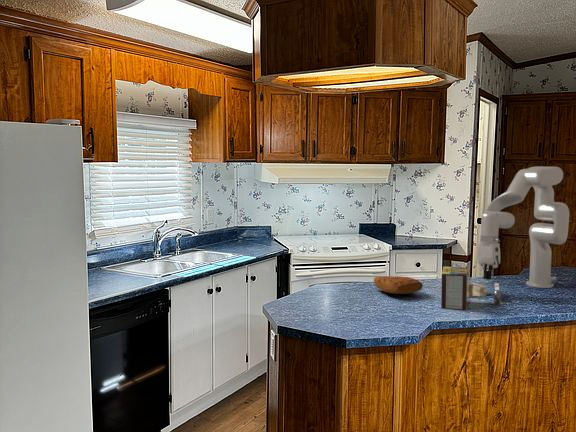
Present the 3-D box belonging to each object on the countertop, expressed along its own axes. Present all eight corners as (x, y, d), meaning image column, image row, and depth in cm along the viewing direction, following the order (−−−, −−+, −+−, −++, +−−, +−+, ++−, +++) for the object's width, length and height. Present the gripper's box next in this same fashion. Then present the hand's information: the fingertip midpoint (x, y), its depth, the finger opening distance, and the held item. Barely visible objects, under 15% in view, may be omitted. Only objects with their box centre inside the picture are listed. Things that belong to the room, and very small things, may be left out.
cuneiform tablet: (425, 297, 240) (425, 280, 239) (392, 301, 234) (392, 283, 234) (400, 286, 261) (400, 271, 260) (370, 289, 255) (370, 273, 254)
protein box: (466, 301, 233) (467, 267, 231) (466, 310, 218) (467, 274, 217) (442, 299, 236) (443, 266, 235) (440, 308, 222) (441, 273, 220)
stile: (468, 295, 243) (468, 282, 242) (472, 296, 240) (473, 284, 239) (463, 295, 242) (464, 283, 241) (468, 297, 239) (468, 284, 238)
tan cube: (479, 293, 247) (479, 284, 247) (486, 295, 243) (487, 287, 243) (472, 294, 245) (472, 285, 245) (479, 296, 241) (479, 288, 241)
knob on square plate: (496, 301, 231) (497, 288, 231) (505, 304, 227) (506, 291, 226) (488, 303, 229) (488, 289, 229) (497, 305, 225) (497, 292, 224)
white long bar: (499, 302, 230) (499, 290, 230) (494, 301, 231) (495, 290, 230) (498, 294, 243) (498, 283, 243) (494, 294, 244) (494, 283, 243)
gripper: (508, 241, 232) (506, 281, 233) (483, 237, 245) (481, 275, 247) (495, 242, 228) (493, 282, 230) (471, 237, 242) (469, 276, 244)
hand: (487, 278), depth 238 cm, fingers closed
